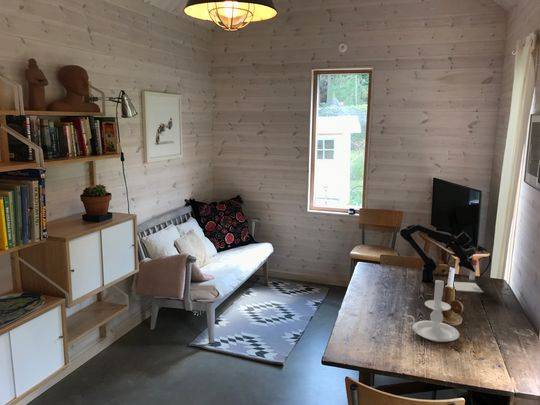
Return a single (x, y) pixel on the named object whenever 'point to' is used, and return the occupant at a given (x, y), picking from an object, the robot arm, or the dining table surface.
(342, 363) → the dining table surface
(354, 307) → the dining table surface
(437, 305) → the candlestick
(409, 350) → the dining table surface
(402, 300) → the dining table surface
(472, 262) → the marker
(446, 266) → the lion figurine
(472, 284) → the notepad
